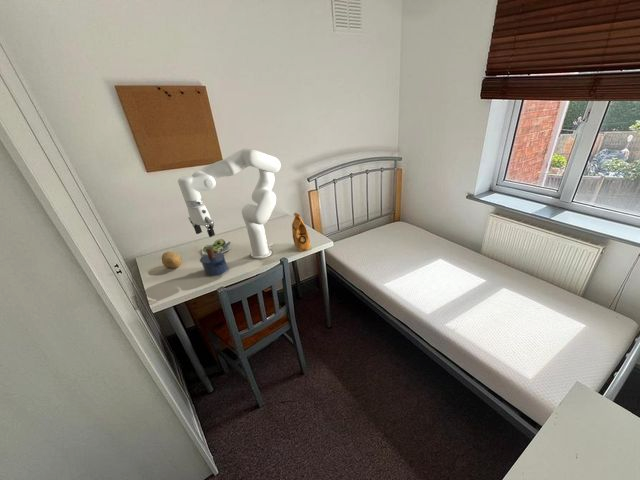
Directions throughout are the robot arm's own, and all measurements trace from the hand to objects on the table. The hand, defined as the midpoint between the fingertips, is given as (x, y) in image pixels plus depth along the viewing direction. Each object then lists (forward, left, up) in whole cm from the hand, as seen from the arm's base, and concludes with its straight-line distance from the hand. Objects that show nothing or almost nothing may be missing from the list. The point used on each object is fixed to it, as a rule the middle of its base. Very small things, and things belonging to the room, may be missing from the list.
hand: (205, 234), depth 153 cm
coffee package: (-45, +26, -23) cm, 57 cm away
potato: (+6, -28, -23) cm, 37 cm away
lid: (+1, 0, -14) cm, 14 cm away
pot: (0, 0, -23) cm, 23 cm away
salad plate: (-20, -23, -23) cm, 38 cm away
